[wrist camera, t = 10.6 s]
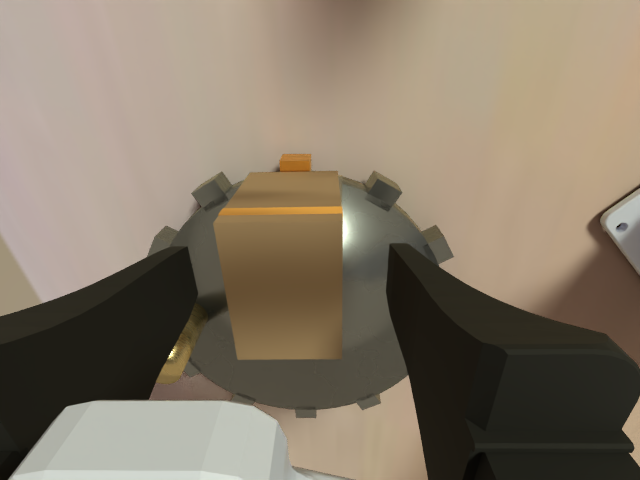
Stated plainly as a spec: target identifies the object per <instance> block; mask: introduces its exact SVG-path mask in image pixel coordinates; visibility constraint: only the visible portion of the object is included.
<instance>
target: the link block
mask: <svg viewBox="0 0 640 480" xmlns="http://www.w3.org/2000/svg"><path fill="white" fill-rule="evenodd" d="M213 226H214V231H215V237H216V242H217V248H218V253H219V259H220V265H221V270H222V276H223V281H224V287H225V292H226V298H227V303H228V309H229V315H230V320H231V326H232V331H233V337H234V342H235V348H236V354H237V359H238V360H269V359H342V279H343V210H342V206H341V199H340V189H339V179H338V171H309V172H257V173H250V174H249V175H248V176H247V178H246V179H245V180H244V182H243V183H242V184H241V186H240V187H239V189H238V190H237V191H236V193H235V194H234V195H233V197H232V198H231V199H230V201H229V202H228V204H227V205H226V206H225V208H223V209H222V210H221V211H220V213H219V214H218V217H217V219H216V220H215V221H214V223H213Z"/></svg>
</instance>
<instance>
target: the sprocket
mask: <svg viewBox="0 0 640 480" xmlns="http://www.w3.org/2000/svg"><path fill="white" fill-rule="evenodd" d="M309 171H311V154H283V155H282V157H281V159H280V172H309ZM338 179H339V189H340V199H341V206H342V210H343V279H342V359H269V360H238V359H237V354H236V348H235V342H234V337H233V331H232V326H231V320H230V315H229V309H228V303H227V298H226V292H225V287H224V281H223V276H222V270H221V265H220V259H219V253H218V248H217V242H216V237H215V231H214V226H213V223H214V221H215V220H216V219H217V217H218V214H219V213H220V211H221V210H222V209H223V208H225V206H226V205H227V204H228V202H229V201H230V199H231V198H232V197H233V195H234V194H235V193H236V191H237V190H238V189H239V187H240V186H241V184H242V183H243V182H244V181H241V182H238V183H236V184H234V185H231V183H230V182H229V180H228V179H227V178H226V176H225V175H224V174H223V172H220V173H219V174H217V175H216V176H214V177H212V178H211V179H209V180H208V181H206V182H204V183H203V184H201V185H200V186H199V187H198V188H197V189H196V190H195V191H193V192H192V193H191V194H192V195H193V196H194V198H195V199H196V200H197V201H198V203H199V204H200V205H201V207H200V208H199V209H198V210H197V211H196V212H195V213H194V214H193V215H192V216H191V217H190V219H189V220H188V221H187V222H186V223H185V224H184V225H183V227H182V228H181V229H180V231H176V230H174V229H172V228H170V227H168V226H165V227H164V228H163V229H162V230H161V231H160V232H159V233H158V234H157V235H156V236H155V237H154V240H153V243H152V245H151V248H150V250H149V253H148V256H150V255H152V254H154V253H156V252H159V251H161V250H163V249H165V248H168V247H172V246H188V250H189V254H190V259H191V263H192V268H193V272H194V277H195V281H196V286H197V290H198V296H197V299H196V302H195V305H194V308H193V310H192V313H191V316H190V318H189V320H188V322H187V324H186V326H185V327H184V329H183V331H182V333H181V335H180V337H179V339H178V340H177V342H176V344H175V346H174V348H173V350H172V351H171V353H170V355H169V357H168V359H167V361H166V362H165V364H164V366H163V368H162V370H161V372H160V374H159V376H158V378H157V380H156V382H157V383H161V384H171V383H174V382H176V381H177V380H179V378H180V377H181V375H182V373H183V371H184V372H185V373H186V374H187V375H188V376H190V377H192V376H194V375H196V374H199V373H202V374H203V375H204V376H205V377H207V378H208V379H210V380H211V381H212V382H214V383H215V384H217V385H218V386H220V387H222V388H224V389H226V390H227V391H229V392H231V393H233V395H232V399H231V401H234V402H240V403H246V404H251V405H253V403H254V402H257V403H260V404H264V405H269V406H273V407H279V408H286V409H295V410H296V418H316V410H317V409H328V408H336V407H341V406H345V405H350V404H354V403H357V404H358V405H359V406H360V408H361V409H362V410H364V409H367V408H369V407H372V406H375V405H377V404H380V403H381V401H380V395H379V394H380V393H382V392H383V391H385V390H387V389H389V388H391V387H392V386H394V385H395V384H397V383H398V382H399V381H401V380H402V379H404V378H405V377H406V376H407V375H408V371H407V368H406V364H405V361H404V358H403V355H402V352H401V349H400V346H399V343H398V339H397V336H396V333H395V330H394V327H393V324H392V321H391V317H390V313H389V308H388V302H387V296H386V282H387V269H388V255H389V243H407V244H409V245H410V246H412V247H413V248H415V249H416V250H417V251H419V252H420V253H421V254H422V255H424V256H425V257H426V258H428V259H429V260H430V261H432V262H433V263H435V264H436V265H437V266H439V265H438V264H439V263H442V262H444V261H446V260H448V259H450V258H453V257H454V256H453V254H452V252H451V250H450V248H449V246H448V244H447V242H446V240H445V238H444V236H443V234H442V233H441V231H440V230H439V229H438V227H437V226H436V225H435V226H433V227H431V228H429V229H427V230H425V231H422V232H421V231H420V229H419V228H418V226H417V225H416V224H415V223H414V221H413V220H412V219H411V218H410V217H409V216H408V214H407V213H406V212H405V211H403V210H402V209H401V208H400V207H399V206H398V205H397V204H395V202H396V201H397V199H398V198H399V196H400V195H401V194H402V191H401V190H400V188H399V186H398V185H397V184H396V183H395V182H393V181H391V180H390V179H388V178H386V177H384V176H383V175H381V174H379V173H377V172H376V171H373V173H372V175H371V176H370V178H369V179H368V181H367V182H366V184H365V185H364V184H362V183H360V182H358V181H355V180H352V179H349V178H346V177H343V176H339V175H338ZM148 256H147V257H148Z"/></svg>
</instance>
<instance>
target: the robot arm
mask: <svg viewBox="0 0 640 480" xmlns="http://www.w3.org/2000/svg"><path fill="white" fill-rule="evenodd" d="M600 223H601V225H602V227H603V228H604V229H605V231H606V232H607V233H608V235H609V236H610V237H611V238H612V240H613V241H614V242H615V244H616V245H617V246H618V248H619V249H620V250H621V252H622V253H623V254H624V256H625V257H626V258H627V260H628V261H629V262H630V264H631V265H632V266H633V268H634V269H635V270H636V271H637V273H638V274H639V275H640V188H639V189H638V190H636V191H635V192H633V193H632V194H631V195H629V196H628V197H626V198H625V199H623V200H622V201H620V202H619V203H618V204H616V205H615V206H613V207H612V208H610V209H609V210H607V211H606V212H605V213H604V214H603V215H602V217H601V219H600ZM619 224H621V226H619V227H618V228H617V229H616V227H617V226H618V225H619ZM197 296H198V290H197V286H196V281H195V277H194V272H193V268H192V263H191V259H190V254H189V250H188V246H172V247H168V248H165V249H163V250H161V251H159V252H156V253H154V254H152V255H150V256H148V257H146V258H144V259H143V260H141V261H139V262H137V263H135V264H133V265H131V266H129V267H127V268H125V269H123V270H121V271H119V272H117V273H115V274H113V275H111V276H109V277H106V278H104V279H102V280H100V281H98V282H96V283H94V284H92V285H89V286H87V287H85V288H82V289H80V290H78V291H75V292H73V293H70V294H67V295H65V296H62V297H60V298H57V299H54V300H51V301H48V302H45V303H42V304H39V305H36V306H33V307H30V308H27V309H24V310H21V311H18V312H14V313H11V314H7V315H4V316H0V480H354V479H349V478H345V477H340V476H336V475H331V474H326V473H322V472H317V471H313V470H308V469H304V468H299V467H294V466H291V463H290V460H289V453H288V443H287V438H286V436H285V434H284V433H283V431H282V429H281V427H280V425H279V423H278V421H277V420H276V419H275V418H273V417H272V416H270V415H268V414H267V413H265V412H264V411H262V410H260V409H259V408H257V407H255V406H254V405H251V404H246V403H240V402H234V401H229V400H149V397H150V395H151V393H152V390H153V388H154V385H155V383H156V380H157V378H158V376H159V374H160V372H161V370H162V368H163V366H164V364H165V362H166V361H167V359H168V357H169V355H170V353H171V351H172V350H173V348H174V346H175V344H176V342H177V340H178V339H179V337H180V335H181V333H182V331H183V329H184V327H185V326H186V324H187V322H188V320H189V318H190V316H191V313H192V310H193V308H194V305H195V302H196V299H197ZM386 296H387V302H388V308H389V313H390V317H391V321H392V324H393V327H394V330H395V333H396V336H397V339H398V343H399V346H400V349H401V352H402V355H403V358H404V361H405V364H406V368H407V371H408V375H409V379H410V383H411V388H412V393H413V398H414V403H415V408H416V413H417V419H418V424H419V429H420V435H421V440H422V446H423V452H424V458H425V464H426V469H427V475H428V480H640V467H639V466H638V464H637V463H636V462H635V460H634V459H633V458H632V457H631V455H630V454H629V453H632V452H633V450H634V445H633V443H632V442H631V440H630V439H629V438H628V437H627V435H626V434H625V433H624V432H623V431H622V427H623V425H624V424H625V422H626V420H627V418H628V417H629V415H630V413H631V411H632V410H633V408H634V406H635V404H636V403H637V401H638V399H639V396H640V369H639V367H638V365H637V364H636V363H635V362H634V361H633V360H632V359H631V358H630V357H629V356H628V355H627V354H626V353H625V352H624V351H623V350H622V349H621V348H620V347H619V346H618V345H617V344H616V343H615V342H614V341H613V340H611V339H610V338H609V337H608V336H607V335H606V334H604V333H600V332H596V331H592V330H588V329H584V328H580V327H576V326H572V325H568V324H565V323H561V322H557V321H554V320H551V319H548V318H545V317H542V316H539V315H535V314H533V313H530V312H527V311H524V310H521V309H519V308H516V307H514V306H511V305H509V304H506V303H504V302H502V301H499V300H497V299H495V298H493V297H490V296H488V295H486V294H484V293H482V292H480V291H478V290H476V289H474V288H472V287H471V286H469V285H467V284H465V283H463V282H462V281H460V280H459V279H457V278H455V277H454V276H452V275H451V274H449V273H448V272H446V271H445V270H443V269H442V268H440V267H439V266H437V265H436V264H435V263H433V262H432V261H430V260H429V259H428V258H426V257H425V256H424V255H422V254H421V253H420V252H419V251H417V250H416V249H415V248H413V247H412V246H410V245H409V244H407V243H389V255H388V269H387V282H386Z"/></svg>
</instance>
